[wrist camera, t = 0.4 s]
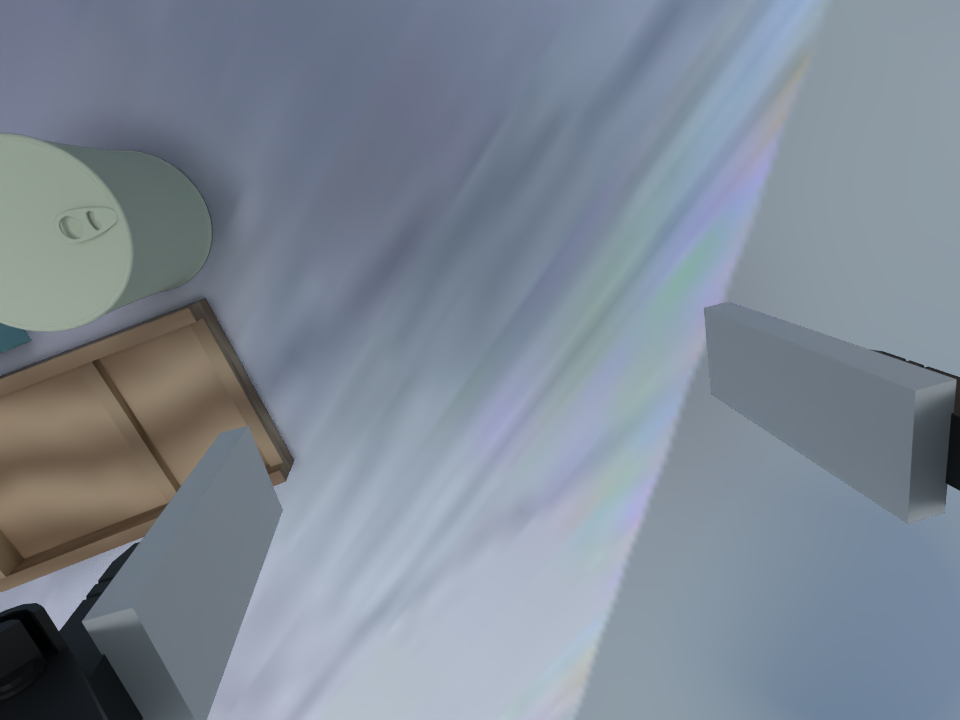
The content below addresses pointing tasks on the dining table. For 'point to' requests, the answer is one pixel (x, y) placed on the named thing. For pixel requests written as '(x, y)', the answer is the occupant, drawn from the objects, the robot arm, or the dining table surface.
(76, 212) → the can
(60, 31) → the dining table surface
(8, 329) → the wing block
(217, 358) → the cradle jig
